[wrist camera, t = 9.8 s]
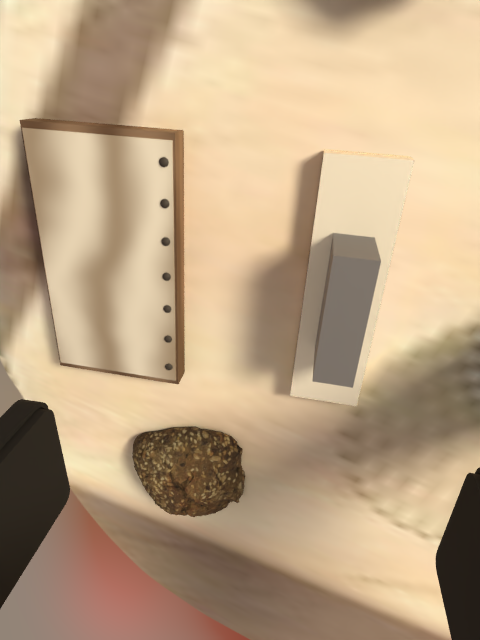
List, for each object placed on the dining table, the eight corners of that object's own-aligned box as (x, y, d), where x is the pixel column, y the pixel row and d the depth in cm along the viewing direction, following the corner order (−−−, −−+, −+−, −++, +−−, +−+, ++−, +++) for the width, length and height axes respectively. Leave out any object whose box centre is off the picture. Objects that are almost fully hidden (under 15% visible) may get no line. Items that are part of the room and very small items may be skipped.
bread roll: (128, 421, 48) (108, 455, 44) (237, 421, 46) (227, 456, 41) (156, 503, 54) (141, 540, 50) (255, 508, 51) (248, 547, 47)
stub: (410, 157, 31) (428, 173, 25) (355, 395, 41) (359, 446, 35) (324, 149, 32) (322, 163, 26) (291, 385, 42) (284, 433, 36)
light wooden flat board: (183, 130, 33) (173, 133, 31) (184, 372, 43) (177, 386, 41) (35, 118, 35) (17, 120, 33) (70, 354, 45) (58, 366, 43)
